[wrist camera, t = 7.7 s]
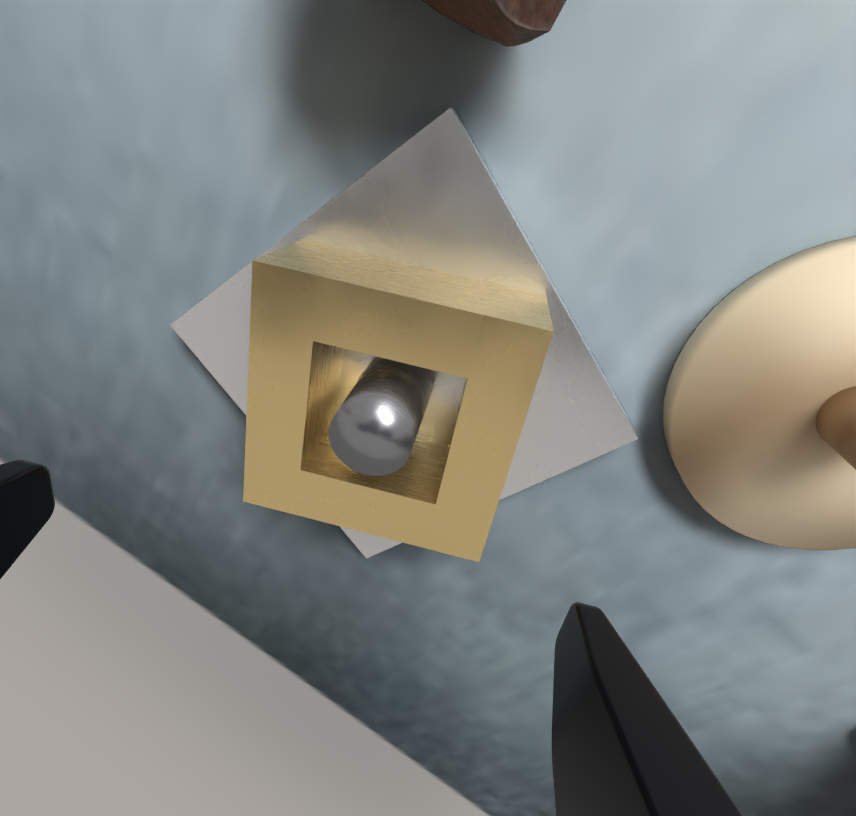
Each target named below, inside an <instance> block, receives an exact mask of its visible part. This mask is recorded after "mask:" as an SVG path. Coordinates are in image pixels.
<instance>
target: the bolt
mask: <svg viewBox="0 0 856 816" xmlns="http://www.w3.org/2000/svg"><path fill="white" fill-rule="evenodd" d="M422 1H424V2H425V3H427V4H428V5H429V6H431V7H432V8H433V9H435V10H436V11H438V12H439V13H441V14H443V15H444V16H446V17H448V18H449V19H451V20H453V21H455V22H457V23H459V24H460V25H462V26H464V27H466V28H468V29H469V30H471V31H474V32H476V33H478V34H480V35H483V36H485V37H487V38H489V39H491V40H494V41H496V42H498V43H500V44H502V45H504V46H516V45H520V44H523V43H527V42H530V41H532V40H533V39H535V38H537V37H539V36H541V35H543V34H545V33H547V32H549V31H550V30H551V28H552V26H553V24H554V22H555V20H556V18H557V17H558V15H559V13H560V11H561V9H562V7H563V5H564V4H565V2H566V0H422Z"/></svg>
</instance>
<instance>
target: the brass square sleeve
mask: <svg viewBox="0 0 856 816" xmlns="http://www.w3.org/2000/svg"><path fill="white" fill-rule="evenodd" d="M553 332H554V330H553V325H552V321H551V316H550V311H549V306H548V301H547V297H546V296H545V295H541V294H537V293H532V292H528V291H524V290H519V289H515V288H511V287H507V286H502V285H498V284H494V283H489V282H485V281H481V280H477V279H472V278H468V277H464V276H459V275H455V274H451V273H447V272H442V271H438V270H434V269H429V268H425V267H421V266H417V265H412V264H408V263H404V262H399V261H395V260H391V259H387V258H382V257H378V256H374V255H369V254H365V253H361V252H357V251H352V250H348V249H344V248H339V247H335V246H331V245H327V244H322V243H318V242H314V241H309V240H305V239H301V240H299V241H296V242H294V243H292V244H289V245H287V246H285V247H282V248H280V249H278V250H275V251H273V252H271V253H268V254H266V255H263V256H261V257H259V258H256V259H254V260H252V281H251V308H250V335H249V362H248V388H247V415H246V442H245V469H244V495H243V501H244V502H248V503H252V504H255V505H259V506H263V507H267V508H271V509H275V510H279V511H283V512H286V513H290V514H294V515H298V516H302V517H306V518H310V519H314V520H317V521H321V522H325V523H329V524H333V525H337V526H341V527H345V528H349V529H352V530H356V531H360V532H364V533H368V534H372V535H376V536H380V537H383V538H387V539H391V540H395V541H399V542H403V543H407V544H411V545H415V546H418V547H422V548H426V549H430V550H434V551H438V552H442V553H446V554H449V555H453V556H457V557H461V558H465V559H469V560H473V561H477V562H479V561H480V558H481V555H482V552H483V549H484V546H485V542H486V539H487V536H488V533H489V530H490V527H491V524H492V521H493V518H494V515H495V512H496V508H497V505H498V502H499V499H500V496H501V493H502V490H503V487H504V484H505V481H506V478H507V474H508V471H509V468H510V465H511V462H512V459H513V456H514V453H515V450H516V447H517V444H518V440H519V437H520V434H521V431H522V428H523V425H524V422H525V419H526V416H527V413H528V410H529V407H530V403H531V400H532V397H533V394H534V391H535V388H536V385H537V382H538V379H539V376H540V373H541V369H542V366H543V363H544V360H545V357H546V354H547V351H548V348H549V345H550V342H551V339H552V335H553ZM344 349H348V350H352V351H356V352H360V353H364V354H368V355H372V356H376V357H381V358H385V359H389V360H393V361H397V362H401V363H405V364H410V365H414V366H418V367H422V368H426V369H430V370H434V371H438V372H443V373H447V374H451V375H455V376H459V377H463V378H466V380H465V384H464V388H463V392H462V396H461V400H460V404H459V408H458V412H457V416H456V420H455V424H454V427H453V431H452V435H451V439H450V443H449V445H445V444H441V443H437V442H433V441H429V440H425V439H421V438H417V437H416V440H415V442H414V445H413V448H412V451H411V454H410V456H409V459H408V460H407V462H406V463H405V464H404V465H403V466H402V467H401V468H400V469H398V470H397V471H395V472H393V473H391V474H387V475H382V476H369V475H364V474H361V473H358V472H356V471H354V470H352V469H350V468H349V467H347V466H346V465H344V464H343V463H342V462H341V461H340V460H339V459H338V457H337V456H336V455H335V453H334V451H333V450H332V447H331V445H330V441H329V426H330V423H331V420H332V419H333V417H334V415H335V414H336V411H337V404H338V396H339V388H340V380H341V373H342V365H343V357H344Z"/></svg>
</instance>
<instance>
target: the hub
mask: <svg viewBox="0 0 856 816" xmlns="http://www.w3.org/2000/svg"><path fill="white" fill-rule="evenodd" d="M301 239H305V240H309V241H314V242H318V243H322V244H327V245H331V246H335V247H339V248H344V249H348V250H352V251H357V252H361V253H365V254H369V255H374V256H378V257H382V258H387V259H391V260H395V261H399V262H404V263H408V264H412V265H417V266H421V267H425V268H429V269H434V270H438V271H442V272H447V273H451V274H455V275H459V276H464V277H468V278H472V279H477V280H481V281H485V282H489V283H494V284H498V285H502V286H507V287H511V288H515V289H519V290H524V291H528V292H532V293H537V294H541V295H545V296H546V297H547V301H548V306H549V311H550V316H551V321H552V325H553V330H554V332H553V335H552V339H551V342H550V345H549V348H548V351H547V354H546V357H545V360H544V363H543V366H542V369H541V373H540V376H539V379H538V382H537V385H536V388H535V391H534V394H533V397H532V400H531V403H530V407H529V410H528V413H527V416H526V419H525V422H524V425H523V428H522V431H521V434H520V437H519V440H518V444H517V447H516V450H515V453H514V456H513V459H512V462H511V465H510V468H509V471H508V474H507V478H506V481H505V484H504V487H503V490H502V493H501V496H500V499H499V500H501V499H503V498H505V497H508V496H510V495H512V494H514V493H517V492H519V491H521V490H524V489H526V488H528V487H530V486H533V485H535V484H537V483H539V482H542V481H544V480H546V479H549V478H551V477H553V476H555V475H558V474H560V473H562V472H565V471H567V470H569V469H571V468H574V467H576V466H578V465H580V464H583V463H585V462H587V461H590V460H592V459H594V458H596V457H599V456H601V455H603V454H606V453H608V452H610V451H612V450H615V449H617V448H619V447H621V446H624V445H626V444H628V443H631V442H633V441H635V440H637V439H638V437H637V434H636V432H635V430H634V427H633V425H632V423H631V421H630V419H629V417H628V415H627V414H626V412H625V410H624V408H623V407H622V405H621V403H620V401H619V400H618V398H617V396H616V394H615V392H614V391H613V389H612V387H611V385H610V384H609V382H608V380H607V378H606V377H605V375H604V373H603V371H602V369H601V368H600V366H599V364H598V362H597V361H596V359H595V357H594V355H593V354H592V352H591V350H590V348H589V346H588V345H587V343H586V341H585V339H584V338H583V336H582V334H581V332H580V331H579V329H578V327H577V325H576V323H575V322H574V320H573V318H572V316H571V315H570V313H569V311H568V309H567V308H566V306H565V304H564V302H563V300H562V299H561V297H560V295H559V293H558V292H557V290H556V288H555V286H554V285H553V283H552V281H551V279H550V277H549V276H548V274H547V272H546V270H545V269H544V267H543V265H542V263H541V262H540V260H539V258H538V256H537V254H536V253H535V251H534V249H533V247H532V246H531V244H530V242H529V240H528V239H527V237H526V235H525V233H524V231H523V230H522V228H521V226H520V224H519V223H518V221H517V219H516V217H515V216H514V214H513V212H512V210H511V208H510V207H509V205H508V203H507V201H506V200H505V198H504V196H503V194H502V192H501V191H500V189H499V187H498V185H497V184H496V182H495V180H494V178H493V177H492V175H491V173H490V171H489V169H488V168H487V166H486V164H485V162H484V161H483V159H482V157H481V155H480V154H479V152H478V150H477V148H476V146H475V145H474V143H473V141H472V139H471V138H470V136H469V134H468V132H467V131H466V129H465V127H464V125H463V123H462V122H461V120H460V118H459V116H458V115H457V113H456V111H455V110H454V109H452V108H451V107H450V108H449V109H448V110H447V111H445V112H444V113H443V114H441V115H440V116H439V117H438V118H436V119H435V120H434V121H432V122H431V123H430V124H429V125H427V126H426V127H425V128H423V129H422V130H421V131H419V132H418V133H417V134H416V135H414V136H413V137H412V138H410V139H409V140H408V141H407V142H405V143H404V144H403V145H401V146H400V147H399V148H398V149H396V150H395V151H394V152H392V153H391V154H390V155H389V156H387V157H386V158H385V159H383V160H382V161H381V162H380V163H378V164H377V165H376V166H374V167H373V168H372V169H371V170H369V171H368V172H367V173H365V174H364V175H363V176H362V177H360V178H359V179H358V180H356V181H355V182H354V183H353V184H351V185H350V186H349V187H347V188H346V189H345V190H344V191H342V192H341V193H340V194H338V195H337V196H336V197H334V198H333V199H332V200H331V201H329V202H328V203H327V204H325V205H324V206H323V207H322V208H320V209H319V210H318V211H316V212H315V213H314V214H313V215H311V216H310V217H309V218H307V219H306V220H305V221H304V222H302V223H301V224H300V225H298V226H297V227H296V228H295V229H293V230H292V231H291V232H289V233H288V234H287V235H286V236H284V237H283V238H282V239H280V240H279V241H278V242H277V243H275V244H274V245H273V246H271V247H270V248H269V249H268V250H266V251H265V252H264V253H262V254H261V255H260V256H258V257H257V258H259V257H261V256H263V255H266V254H268V253H271V252H273V251H275V250H278V249H280V248H282V247H285V246H287V245H289V244H292V243H294V242H296V241H299V240H301ZM251 281H252V262H251V263H249V264H248V265H247V266H246V267H244V268H243V269H242V270H240V271H239V272H238V273H237V274H235V275H234V276H233V277H231V278H230V279H229V280H228V281H226V282H225V283H224V284H222V285H221V286H220V287H219V288H217V289H216V290H215V291H213V292H212V293H211V294H210V295H208V296H207V297H206V298H204V299H203V300H202V301H201V302H199V303H198V304H197V305H195V306H194V307H193V308H192V309H190V310H189V311H188V312H186V313H185V314H184V315H182V316H181V317H180V318H179V319H177V320H176V321H175V322H173V323H172V324H171V325H170V326H171V327H172V328H173V329H174V330H175V332H176V333H177V334H178V335H179V336H180V337H181V339H182V340H183V341H184V342H185V343H186V345H187V346H188V347H189V348H190V349H191V351H192V352H193V353H194V354H195V355H196V356H197V358H198V359H199V360H200V361H201V362H202V364H203V365H204V366H205V367H206V368H207V370H208V371H209V372H210V373H211V374H212V376H213V377H214V378H215V379H216V380H217V381H218V383H219V384H220V385H221V386H222V387H223V389H224V390H225V391H226V392H227V393H228V395H229V396H230V397H231V398H232V399H233V400H234V402H235V403H236V404H237V405H238V406H239V408H240V409H241V410H242V411H243V412H244V414H245V415H247V388H248V362H249V335H250V308H251ZM465 380H466V378H463V377H459V376H455V375H451V374H447V373H443V372H438V371H434V370H430V369H426V368H422V367H418V366H414V365H410V364H405V363H401V362H397V361H393V360H389V359H385V358H381V357H376V356H372V355H368V354H364V353H360V352H356V351H352V350H348V349H344V357H343V365H342V373H341V380H340V388H339V396H338V404H337V411H336V414H335V415H334V417H333V419H332V420H331V423H330V426H329V441H330V445H331V447H332V450H333V451H334V453H335V455H336V456H337V457H338V459H339V460H340V461H341V462H342V463H343V464H344V465H346V466H347V467H349V468H350V469H352V470H354V471H356V472H358V473H361V474H364V475H369V476H382V475H387V474H391V473H393V472H395V471H397V470H398V469H400V468H401V467H402V466H403V465H404V464H405V463H406V462H407V460H408V459H409V456H410V454H411V451H412V448H413V445H414V442H415V440H416V437H417V438H421V439H425V440H429V441H433V442H437V443H441V444H445V445H449V443H450V439H451V435H452V431H453V427H454V424H455V420H456V416H457V412H458V408H459V404H460V400H461V396H462V392H463V388H464V384H465ZM339 527H340V528H341V529H342V530H343V531H344V532H345V534H346V535H347V536H348V537H349V538H350V540H351V541H352V542H353V543H354V544H355V546H356V547H357V548H358V549H359V550H360V552H361V553H362V554H363V555H364V556H365V557H366V558H369V557H371V556H373V555H375V554H378V553H380V552H382V551H385V550H387V549H389V548H391V547H394V546H396V545H398V544H401V543H403V542H399V541H395V540H391V539H387V538H383V537H380V536H376V535H372V534H368V533H364V532H360V531H356V530H352V529H349V528H345V527H341V526H339Z"/></svg>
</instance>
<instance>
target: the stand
mask: <svg viewBox="0 0 856 816" xmlns="http://www.w3.org/2000/svg"><path fill="white" fill-rule="evenodd" d="M663 426H664V435H665V439H666V443H667V447H668V451H669V453H670V455H671V457H672V460H673V462H674V464H675V466H676V468H677V470H678V472H679V474H680V476H681V478H682V480H683V482H684V484H685V486H686V487H687V489H688V490H689V492H690V493H691V495H692V496H693V498H694V499H695V500H696V501H697V502H698V503H699V504H700V505H701V506H702V507H703V509H704V510H705V511H707V512H708V513H709V514H710V515H712V516H713V517H714V518H715V519H716V520H718V521H719V522H721V523H722V524H724V525H726V526H727V527H729V528H731V529H732V530H734V531H736V532H738V533H741V534H743V535H745V536H747V537H750V538H752V539H755V540H759V541H762V542H765V543H768V544H772V545H777V546H783V547H788V548H796V549H806V550H838V549H849V548H856V236H853V237H849V238H844V239H839V240H835V241H830V242H827V243H824V244H821V245H818V246H815V247H812V248H809V249H806V250H803V251H800V252H798V253H796V254H794V255H791V256H789V257H787V258H785V259H783V260H780V261H778V262H776V263H774V264H773V265H771V266H769V267H767V268H766V269H764V270H762V271H761V272H759V273H757V274H755V275H754V276H752V277H751V278H750V279H748V280H747V281H745V282H744V283H743V284H741V285H740V286H739V287H737V288H736V289H734V290H733V291H732V292H731V293H730V294H728V295H727V296H726V297H725V298H724V299H723V300H722V301H721V302H720V303H718V304H717V305H716V306H715V307H714V308H713V309H712V310H711V311H710V313H709V314H708V315H707V316H706V317H705V318H704V319H703V320H702V322H701V323H700V324H699V325H698V326H697V328H696V329H695V330H694V332H693V333H692V335H691V336H690V338H689V339H688V340H687V342H686V343H685V345H684V347H683V349H682V350H681V352H680V354H679V356H678V358H677V360H676V362H675V364H674V367H673V369H672V372H671V375H670V377H669V380H668V384H667V388H666V393H665V397H664V406H663Z"/></svg>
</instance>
